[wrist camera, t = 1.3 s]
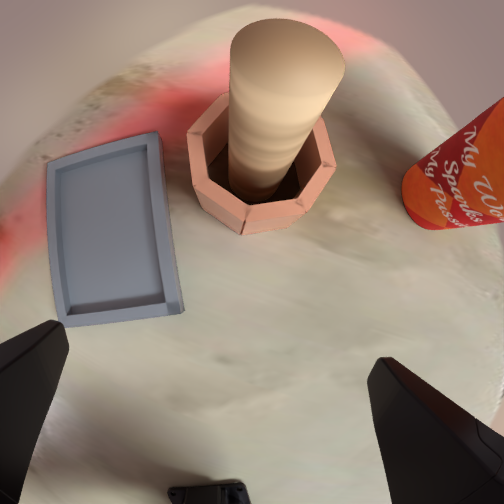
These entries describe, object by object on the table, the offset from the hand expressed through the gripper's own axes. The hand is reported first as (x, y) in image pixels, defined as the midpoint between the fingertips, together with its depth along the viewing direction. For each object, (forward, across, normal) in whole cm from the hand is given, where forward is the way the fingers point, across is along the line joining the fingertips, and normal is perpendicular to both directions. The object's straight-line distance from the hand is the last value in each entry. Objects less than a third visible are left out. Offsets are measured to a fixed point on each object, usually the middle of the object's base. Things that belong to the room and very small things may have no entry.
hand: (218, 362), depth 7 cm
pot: (+14, -1, -3) cm, 15 cm away
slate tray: (+12, +8, +2) cm, 15 cm away
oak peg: (+14, -1, -3) cm, 15 cm away
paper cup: (+15, -15, -4) cm, 22 cm away
